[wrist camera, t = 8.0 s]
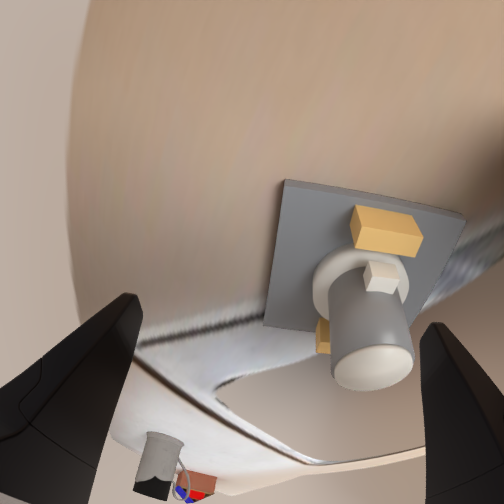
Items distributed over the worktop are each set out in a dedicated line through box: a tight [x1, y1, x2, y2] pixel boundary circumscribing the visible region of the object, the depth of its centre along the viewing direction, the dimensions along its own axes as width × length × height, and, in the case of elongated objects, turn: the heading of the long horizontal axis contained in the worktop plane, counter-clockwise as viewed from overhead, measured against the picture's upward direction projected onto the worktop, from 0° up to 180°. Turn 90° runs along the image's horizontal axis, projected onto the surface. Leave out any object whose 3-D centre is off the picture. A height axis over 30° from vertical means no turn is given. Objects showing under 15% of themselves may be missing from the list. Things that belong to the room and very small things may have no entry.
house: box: [175, 470, 217, 503], centre depth 83 cm, size 12×20×12 cm, turn 162°
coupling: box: [328, 261, 415, 391], centre depth 18 cm, size 7×5×6 cm
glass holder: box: [133, 432, 190, 501], centre depth 53 cm, size 9×14×15 cm, turn 42°
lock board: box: [263, 179, 467, 354], centre depth 21 cm, size 13×13×4 cm
